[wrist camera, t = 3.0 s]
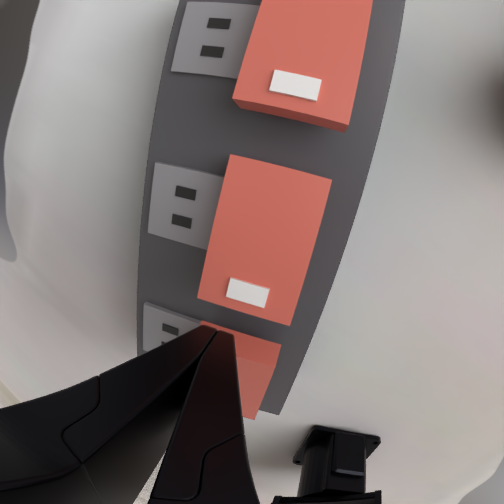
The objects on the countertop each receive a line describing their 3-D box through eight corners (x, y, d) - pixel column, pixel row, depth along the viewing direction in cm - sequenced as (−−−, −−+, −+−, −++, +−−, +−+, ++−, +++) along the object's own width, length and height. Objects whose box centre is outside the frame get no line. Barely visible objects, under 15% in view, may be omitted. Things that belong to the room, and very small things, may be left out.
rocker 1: (344, 133, 11) (349, 124, 10) (240, 108, 12) (231, 97, 10) (369, 7, 10) (374, -11, 8) (276, -11, 10) (271, -31, 9)
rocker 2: (291, 314, 14) (289, 327, 13) (207, 288, 15) (195, 299, 13) (329, 181, 13) (332, 179, 12) (237, 157, 14) (229, 153, 12)
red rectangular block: (259, 401, 19) (253, 421, 17) (198, 381, 19) (189, 401, 18) (281, 344, 15) (274, 369, 14) (202, 320, 16) (190, 343, 14)
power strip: (287, 375, 23) (277, 421, 19) (161, 334, 24) (133, 371, 20) (403, -92, 9) (415, -129, 5) (252, -115, 10) (234, -152, 6)
